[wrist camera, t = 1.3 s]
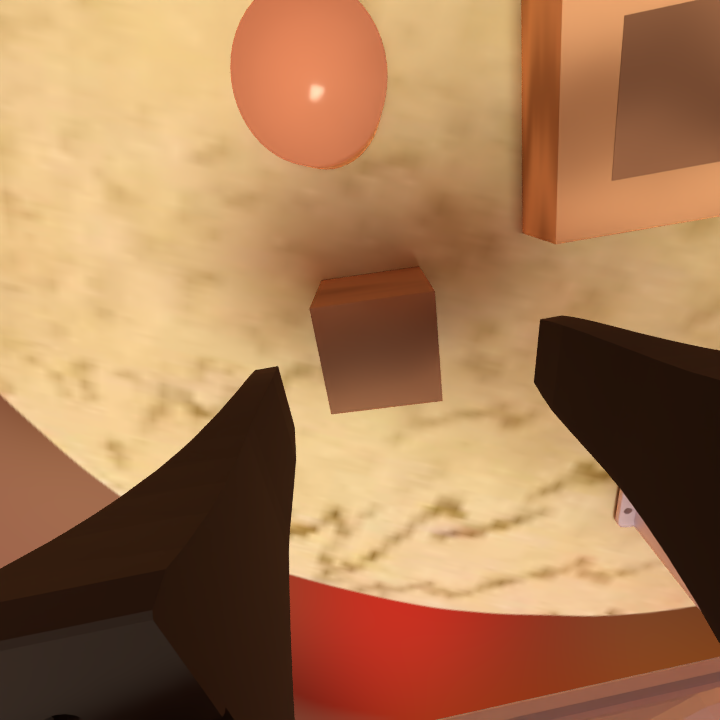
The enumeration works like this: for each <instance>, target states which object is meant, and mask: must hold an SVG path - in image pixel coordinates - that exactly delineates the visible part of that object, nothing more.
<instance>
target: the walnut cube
mask: <svg viewBox="0 0 720 720" xmlns="http://www.w3.org/2000/svg"><path fill="white" fill-rule="evenodd" d="M310 313H311V318H312V323H313V327H314V332H315V337H316V342H317V347H318V352H319V356H320V361H321V366H322V371H323V376H324V381H325V386H326V390H327V395H328V400H329V405H330V410H331V414H338V413H346V412H354V411H362V410H371V409H379V408H387V407H396V406H404V405H412V404H420V403H429V402H437V401H442V387H441V372H440V358H439V344H438V330H437V316H436V302H435V291H434V289H433V288H432V286H431V284H430V283H429V281H428V280H427V278H426V277H425V275H424V273H423V272H422V270H421V269H420V267H419V266H418V267H411V268H404V269H397V270H390V271H383V272H376V273H370V274H363V275H356V276H349V277H342V278H335V279H328V280H322V281H321V283H320V285H319V288H318V290H317V292H316V295H315V297H314V299H313V302H312V304H311V306H310Z"/></svg>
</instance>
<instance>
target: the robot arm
mask: <svg viewBox="0 0 720 720" xmlns="http://www.w3.org/2000/svg"><path fill="white" fill-rule="evenodd" d="M534 383H535V385H536V387H537V388H538V390H539V391H540V393H541V395H542V396H543V398H544V399H545V401H546V402H547V404H548V405H549V407H550V408H551V410H552V411H553V412H554V413H555V415H556V416H557V417H558V418H559V419H560V420H561V421H562V423H563V424H564V425H565V426H566V427H567V428H568V429H569V431H570V432H571V433H572V434H573V435H574V436H575V437H576V438H577V439H578V441H579V442H580V443H581V444H582V445H583V446H584V447H585V448H586V449H587V451H588V452H589V453H590V454H591V455H592V456H593V457H594V458H595V459H596V461H597V462H598V463H599V464H600V465H601V466H602V467H603V468H604V469H605V471H606V472H607V473H608V474H609V475H610V477H611V478H612V479H613V480H614V481H615V483H616V484H617V485H618V486H619V488H620V492H619V498H618V504H617V511H616V517H615V521H616V522H617V524H618V525H619V526H620V527H633V526H635V528H636V529H637V530H638V532H639V533H640V534H641V536H642V537H643V538H644V539H645V541H646V542H647V543H648V545H649V546H650V547H651V548H652V550H653V551H654V552H655V554H656V555H657V556H658V557H659V559H660V560H661V561H662V563H663V564H664V565H665V566H666V568H667V569H668V570H669V571H670V573H671V574H672V575H673V577H674V578H675V579H676V580H677V582H678V583H679V584H680V586H681V587H682V588H683V589H684V591H685V592H686V593H687V595H688V596H689V597H690V598H691V600H692V601H693V602H694V604H695V605H696V606H697V607H698V608H699V609H700V610H701V612H702V613H703V615H704V617H705V619H706V620H707V622H708V624H709V626H710V627H711V629H712V631H713V633H714V634H715V636H716V638H717V640H718V641H719V643H720V351H719V350H714V349H708V348H703V347H698V346H693V345H689V344H684V343H679V342H675V341H670V340H666V339H662V338H657V337H653V336H649V335H645V334H641V333H637V332H633V331H629V330H625V329H621V328H618V327H614V326H610V325H606V324H602V323H598V322H594V321H589V320H585V319H580V318H575V317H569V316H557V317H551V318H546V319H540V327H539V337H538V347H537V357H536V367H535V377H534ZM295 466H296V445H295V427H294V423H293V419H292V416H291V412H290V408H289V405H288V401H287V397H286V394H285V390H284V386H283V383H282V379H281V375H280V372H279V368H278V366H276V367H271V368H265V369H260V370H255V371H254V372H253V373H252V374H251V375H250V376H249V378H248V379H247V380H246V381H245V382H244V384H243V385H242V386H241V387H240V388H239V390H238V391H237V392H236V393H235V394H234V395H233V397H232V398H231V399H230V400H229V401H228V402H227V403H226V405H225V406H224V407H223V408H222V409H221V410H220V412H219V413H218V414H217V415H216V416H215V417H214V418H213V419H212V420H211V421H210V422H209V423H208V424H207V425H206V426H205V427H204V428H203V429H202V430H201V431H200V432H199V433H198V434H197V435H196V436H195V437H194V438H193V439H192V440H191V441H190V442H189V443H188V444H187V445H186V446H185V447H184V448H182V449H181V450H180V451H179V452H178V453H177V454H176V455H174V456H173V457H172V458H171V459H170V460H169V461H167V462H166V463H165V464H164V465H163V466H161V467H160V468H159V469H158V470H156V471H155V472H154V473H152V474H151V475H150V476H148V477H147V478H146V479H144V480H143V481H142V482H140V483H139V484H137V485H136V486H135V487H133V488H132V489H131V490H129V491H128V492H127V493H125V494H124V495H122V496H121V497H120V498H118V499H117V500H115V501H114V502H112V503H111V504H110V505H108V506H106V507H105V508H104V509H102V510H100V511H99V512H97V513H96V514H94V515H93V516H91V517H90V518H88V519H86V520H85V521H83V522H81V523H80V524H78V525H77V526H75V527H74V528H72V529H70V530H69V531H67V532H65V533H63V534H62V535H60V536H58V537H57V538H55V539H53V540H52V541H50V542H48V543H46V544H44V545H43V546H41V547H39V548H37V549H35V550H34V551H32V552H30V553H28V554H26V555H24V556H23V557H21V558H19V559H17V560H15V561H13V562H12V563H10V564H8V565H6V566H4V567H3V568H1V569H0V720H295V719H294V702H293V681H292V659H291V658H292V657H291V636H290V635H291V632H290V596H289V535H290V523H291V512H292V501H293V490H294V478H295ZM438 720H720V657H716V658H712V659H707V660H703V661H698V662H694V663H690V664H686V665H681V666H676V667H672V668H667V669H663V670H658V671H654V672H649V673H645V674H641V675H636V676H632V677H627V678H622V679H618V680H613V681H609V682H604V683H600V684H595V685H591V686H586V687H582V688H577V689H573V690H569V691H564V692H559V693H555V694H550V695H546V696H541V697H537V698H532V699H528V700H523V701H519V702H514V703H510V704H506V705H501V706H496V707H492V708H488V709H483V710H479V711H475V712H469V713H465V714H460V715H456V716H451V717H447V718H442V719H438Z"/></svg>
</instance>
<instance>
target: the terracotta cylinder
mask: <svg viewBox="0 0 720 720" xmlns="http://www.w3.org/2000/svg"><path fill="white" fill-rule="evenodd" d="M230 69H231V82H232V87H233V93H234V96H235V100H236V103H237V106H238V108H239V111H240V113H241V115H242V117H243V119H244V121H245V123H246V125H247V126H248V128H249V129H250V131H251V132H252V133H253V135H254V136H255V137H256V138H257V139H258V140H259V142H260V143H261V144H263V145H264V146H265V147H266V148H267V149H268V150H270V151H271V152H272V153H274V154H275V155H277V156H279V157H281V158H283V159H285V160H287V161H290V162H292V163H295V164H299V165H304V166H308V167H312V168H317V169H335V168H339V167H342V166H345V165H347V164H349V163H351V162H352V161H354V160H355V159H357V158H358V157H359V156H360V155H361V154H362V153H363V152H364V151H365V150H366V149H367V147H368V146H369V145H370V143H371V141H372V140H373V138H374V136H375V133H376V131H377V128H378V125H379V121H380V117H381V113H382V109H383V105H384V101H385V96H386V90H387V62H386V56H385V51H384V47H383V43H382V40H381V37H380V35H379V32H378V30H377V27H376V25H375V24H374V22H373V20H372V18H371V16H370V15H369V14H368V12H367V11H366V9H365V8H364V7H363V5H362V4H361V3H360V2H359V1H358V0H254V1H253V2H252V3H251V5H250V6H249V7H248V9H247V10H246V12H245V14H244V15H243V17H242V19H241V21H240V23H239V26H238V28H237V30H236V34H235V37H234V41H233V45H232V52H231V67H230Z"/></svg>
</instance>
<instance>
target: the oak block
mask: <svg viewBox="0 0 720 720" xmlns="http://www.w3.org/2000/svg"><path fill="white" fill-rule="evenodd" d="M521 13H522V205H523V233H524V234H527V235H530V236H533V237H536V238H539V239H542V240H545V241H548V242H551V243H554V244H560V243H565V242H571V241H577V240H583V239H589V238H595V237H601V236H606V235H612V234H618V233H624V232H630V231H636V230H642V229H647V228H653V227H659V226H665V225H671V224H677V223H683V222H688V221H694V220H700V219H706V218H712V217H718V216H720V0H521Z"/></svg>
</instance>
